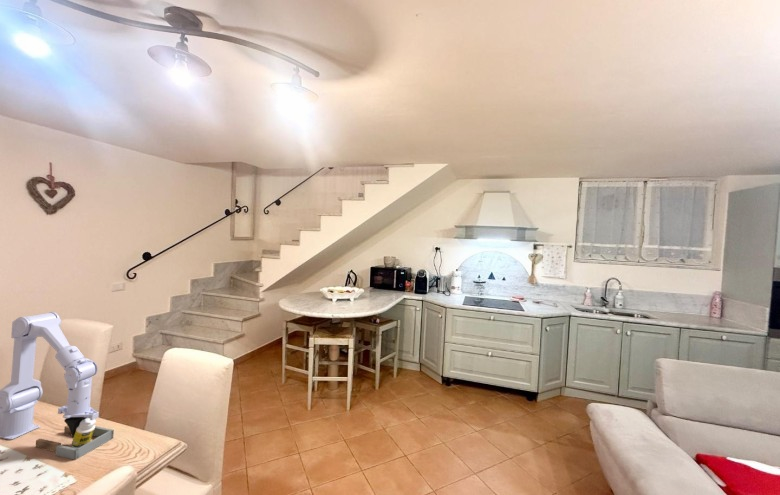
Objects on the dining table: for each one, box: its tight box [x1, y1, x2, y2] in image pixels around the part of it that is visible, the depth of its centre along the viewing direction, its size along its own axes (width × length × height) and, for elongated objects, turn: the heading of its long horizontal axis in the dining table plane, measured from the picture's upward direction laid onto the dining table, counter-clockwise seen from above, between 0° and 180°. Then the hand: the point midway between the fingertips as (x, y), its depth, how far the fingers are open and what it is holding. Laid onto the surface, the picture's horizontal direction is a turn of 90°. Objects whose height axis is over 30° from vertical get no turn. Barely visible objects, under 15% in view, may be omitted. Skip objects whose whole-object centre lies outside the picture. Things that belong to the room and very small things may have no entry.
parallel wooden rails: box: [35, 424, 72, 453], centre depth 107 cm, size 9×9×2 cm
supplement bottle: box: [70, 418, 97, 449], centre depth 106 cm, size 5×5×8 cm
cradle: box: [55, 425, 115, 461], centre depth 105 cm, size 8×12×3 cm
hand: (76, 436), depth 106 cm, fingers closed, pressing on supplement bottle
